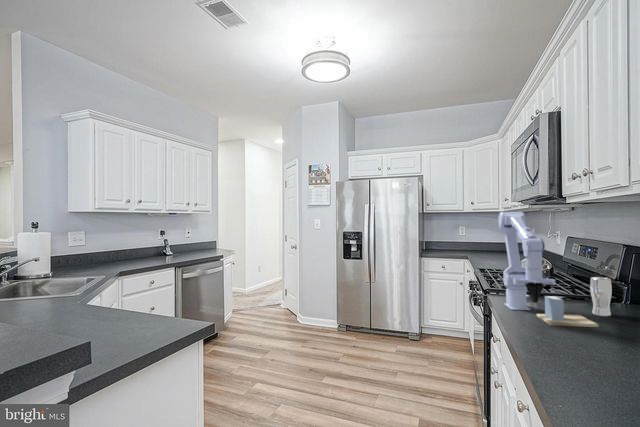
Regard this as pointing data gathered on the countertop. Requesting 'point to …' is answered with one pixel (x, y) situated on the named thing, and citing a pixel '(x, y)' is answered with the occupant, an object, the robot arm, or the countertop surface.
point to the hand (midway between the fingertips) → (534, 302)
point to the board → (569, 321)
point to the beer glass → (601, 295)
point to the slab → (554, 308)
